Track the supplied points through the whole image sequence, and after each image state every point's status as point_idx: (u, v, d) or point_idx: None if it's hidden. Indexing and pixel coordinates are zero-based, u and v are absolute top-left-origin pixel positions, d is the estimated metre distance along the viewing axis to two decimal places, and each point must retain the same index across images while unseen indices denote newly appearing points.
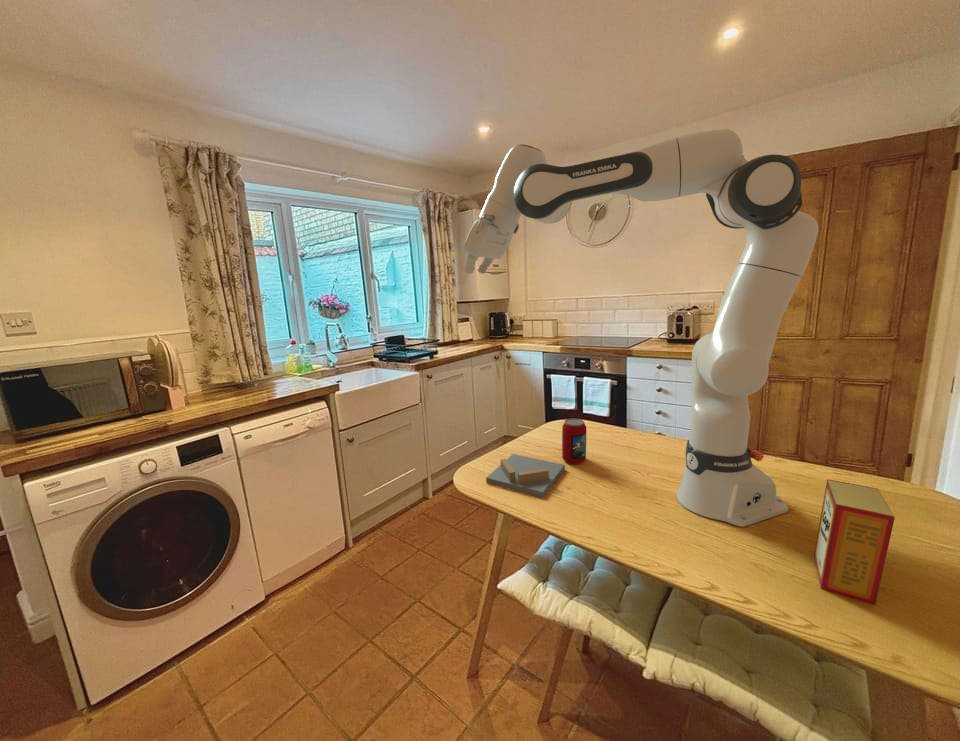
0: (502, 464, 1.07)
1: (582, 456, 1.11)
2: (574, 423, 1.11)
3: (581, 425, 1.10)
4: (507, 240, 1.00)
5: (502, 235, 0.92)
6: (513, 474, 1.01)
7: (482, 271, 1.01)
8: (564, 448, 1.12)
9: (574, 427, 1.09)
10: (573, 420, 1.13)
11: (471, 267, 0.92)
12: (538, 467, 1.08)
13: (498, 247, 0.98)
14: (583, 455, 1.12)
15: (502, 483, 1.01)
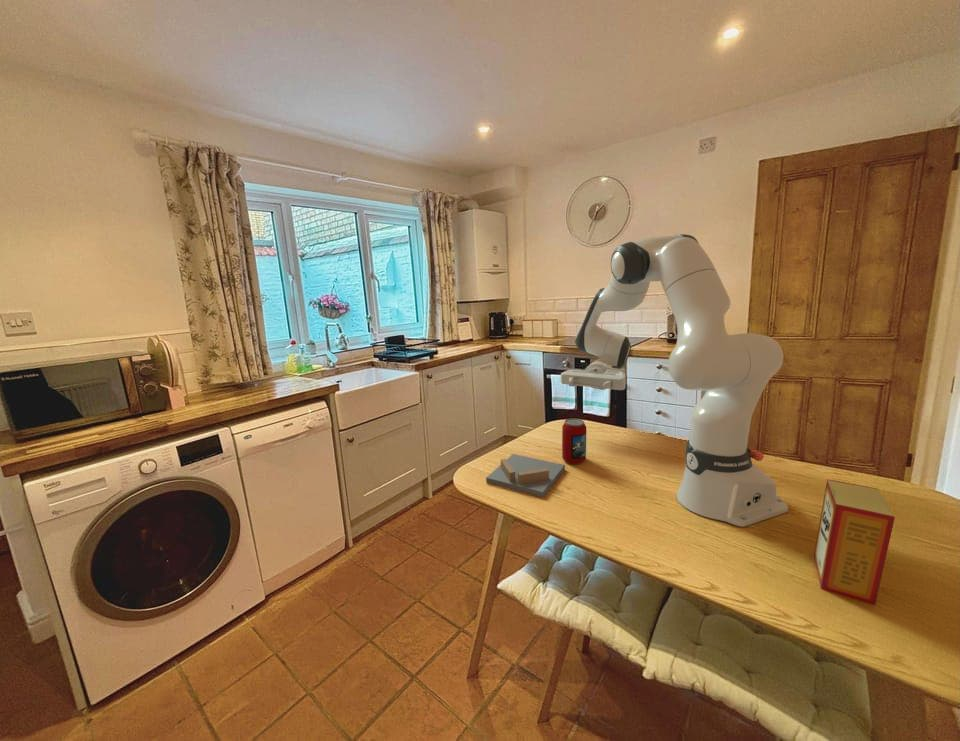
0: (502, 464, 1.07)
1: (582, 456, 1.11)
2: (574, 423, 1.11)
3: (581, 425, 1.10)
4: (619, 374, 1.23)
5: (592, 368, 1.28)
6: (513, 474, 1.01)
7: None
8: (564, 448, 1.12)
9: (574, 427, 1.09)
10: (573, 420, 1.13)
11: (570, 380, 1.23)
12: (538, 467, 1.08)
13: (604, 375, 1.24)
14: (583, 455, 1.12)
15: (502, 483, 1.01)
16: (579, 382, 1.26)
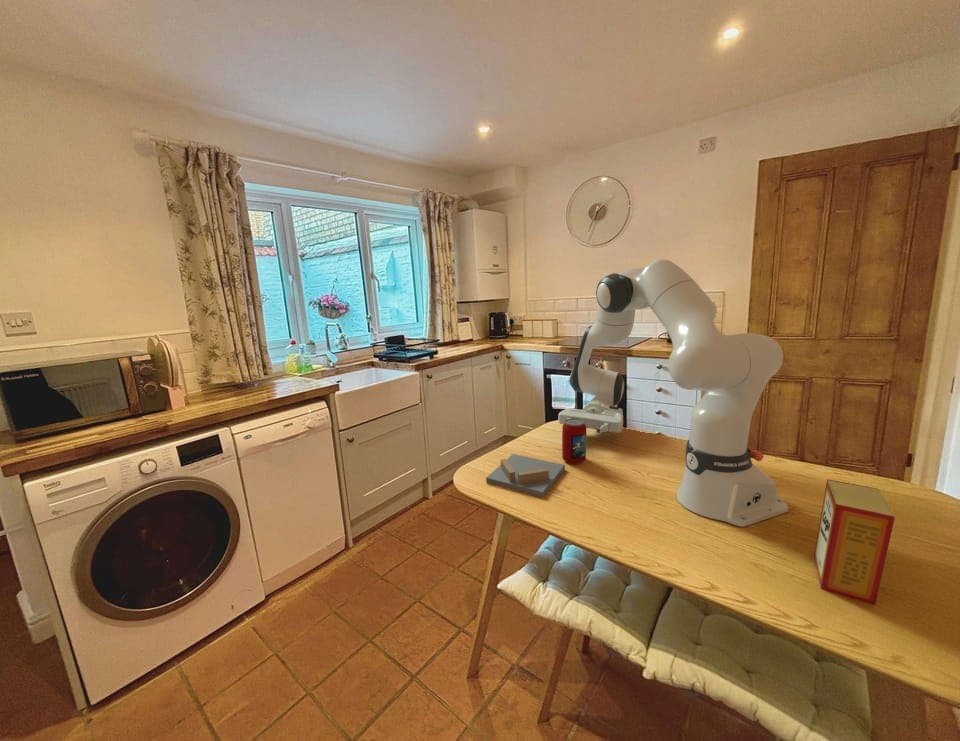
0: (502, 464, 1.07)
1: (582, 456, 1.11)
2: (574, 423, 1.11)
3: (581, 425, 1.10)
4: (616, 415, 1.24)
5: (590, 408, 1.29)
6: (513, 474, 1.01)
7: None
8: (564, 448, 1.12)
9: (574, 427, 1.09)
10: (573, 420, 1.13)
11: None
12: (538, 467, 1.08)
13: (601, 416, 1.24)
14: (583, 455, 1.12)
15: (502, 483, 1.01)
16: None
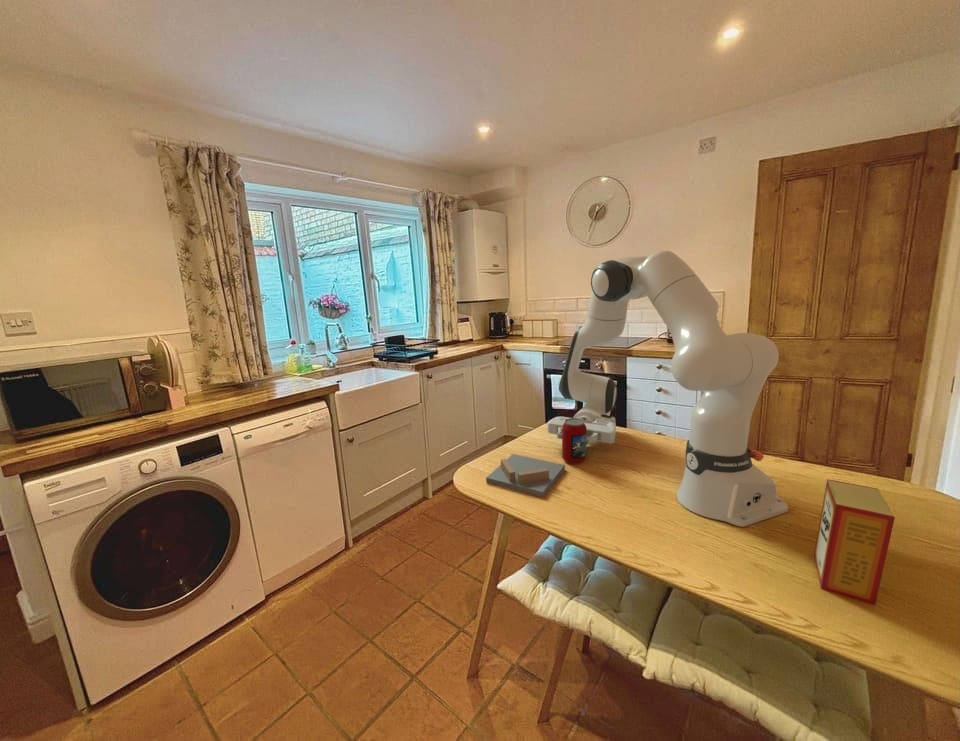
0: (502, 464, 1.07)
1: (582, 456, 1.11)
2: (574, 423, 1.11)
3: (581, 425, 1.10)
4: (608, 424, 1.16)
5: (580, 416, 1.21)
6: (513, 474, 1.01)
7: None
8: (564, 448, 1.12)
9: (574, 427, 1.09)
10: (573, 420, 1.13)
11: (559, 432, 1.16)
12: (538, 467, 1.08)
13: (593, 425, 1.17)
14: (583, 455, 1.12)
15: (502, 483, 1.01)
16: None
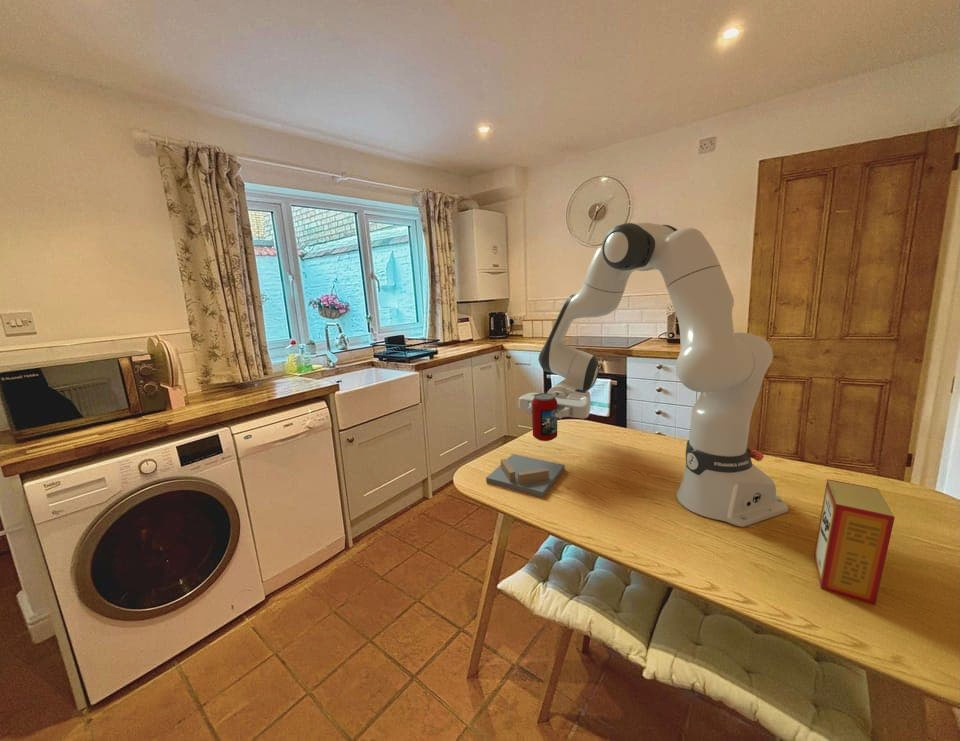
0: (502, 464, 1.07)
1: (552, 432, 1.04)
2: (544, 397, 1.04)
3: (551, 399, 1.03)
4: (582, 399, 1.09)
5: (554, 392, 1.14)
6: (513, 474, 1.01)
7: None
8: (534, 424, 1.06)
9: (543, 402, 1.03)
10: (543, 395, 1.07)
11: None
12: (538, 467, 1.08)
13: (565, 400, 1.10)
14: (554, 431, 1.05)
15: (502, 483, 1.01)
16: None
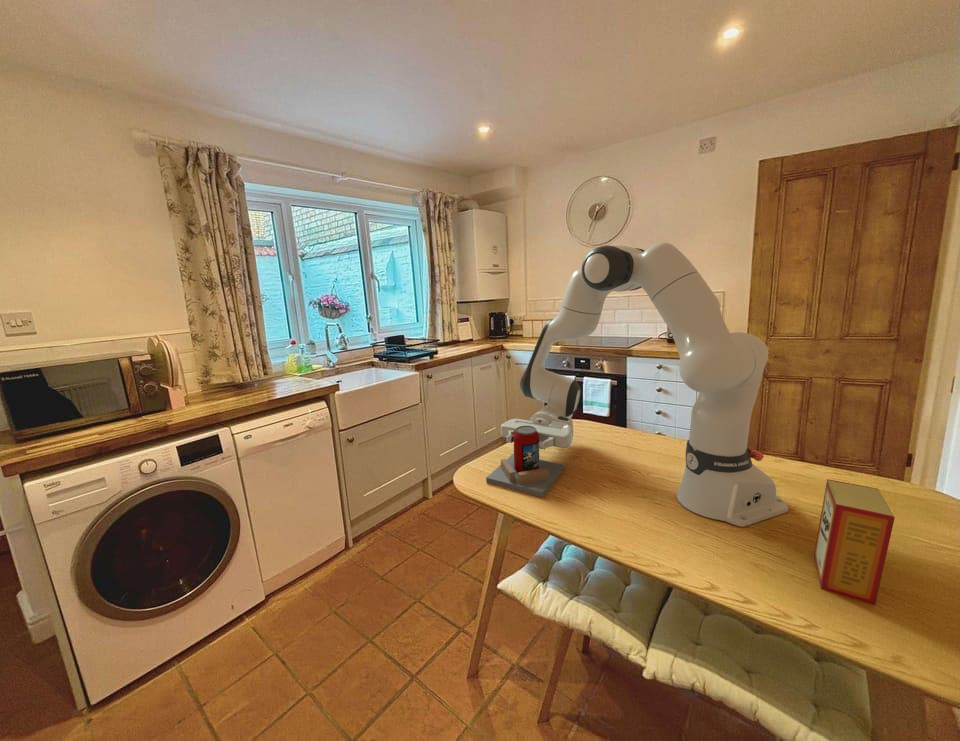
0: (502, 464, 1.07)
1: (534, 466, 1.03)
2: (525, 431, 1.03)
3: (532, 433, 1.02)
4: (564, 427, 1.08)
5: (536, 419, 1.13)
6: (513, 474, 1.01)
7: None
8: (515, 458, 1.04)
9: (524, 436, 1.01)
10: (525, 428, 1.05)
11: None
12: None
13: (547, 429, 1.08)
14: (535, 465, 1.03)
15: (502, 483, 1.01)
16: None
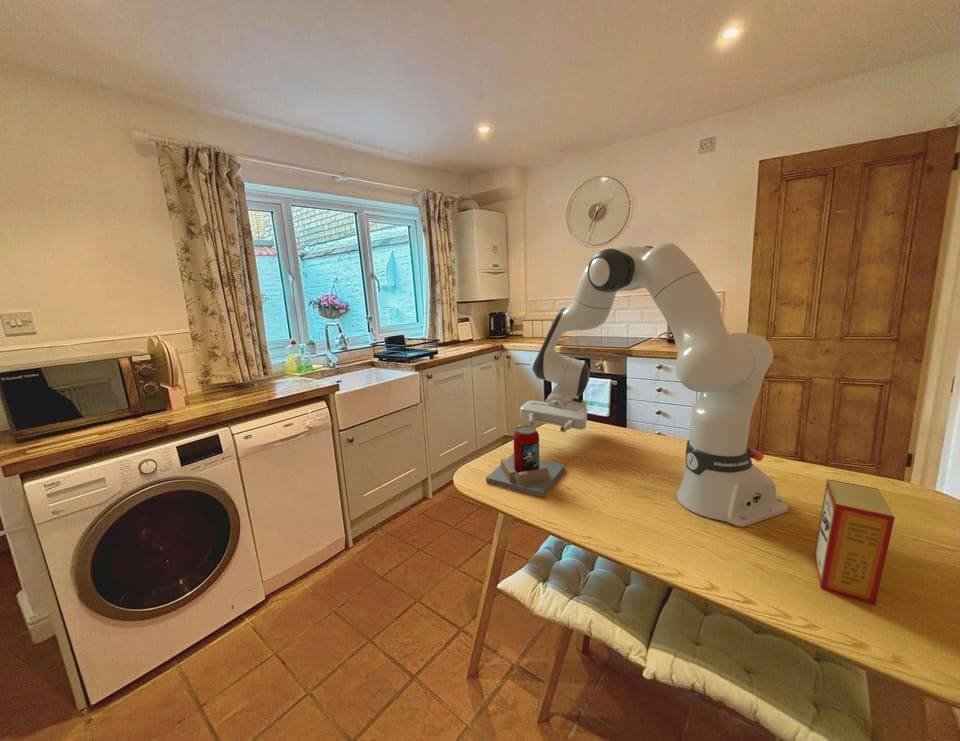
0: (502, 464, 1.07)
1: (534, 466, 1.03)
2: (525, 431, 1.03)
3: (532, 433, 1.02)
4: (580, 409, 1.18)
5: (552, 401, 1.22)
6: (513, 474, 1.01)
7: None
8: (515, 458, 1.04)
9: (524, 436, 1.01)
10: (525, 428, 1.05)
11: (530, 419, 1.17)
12: None
13: (565, 411, 1.18)
14: (535, 465, 1.03)
15: (502, 483, 1.01)
16: (539, 418, 1.20)
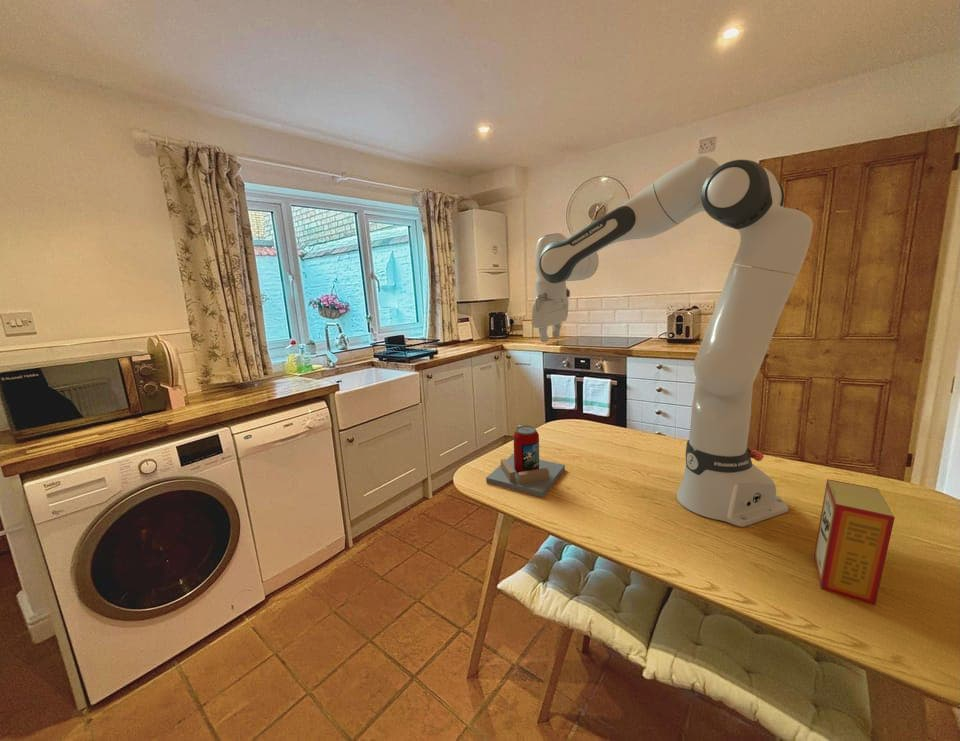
0: (502, 464, 1.07)
1: (534, 466, 1.03)
2: (525, 431, 1.03)
3: (532, 433, 1.02)
4: (565, 304, 1.21)
5: (558, 303, 1.13)
6: (513, 474, 1.01)
7: (556, 335, 1.21)
8: (515, 458, 1.04)
9: (524, 436, 1.01)
10: (525, 428, 1.05)
11: (545, 336, 1.13)
12: None
13: (560, 312, 1.18)
14: (535, 465, 1.03)
15: (502, 483, 1.01)
16: None
